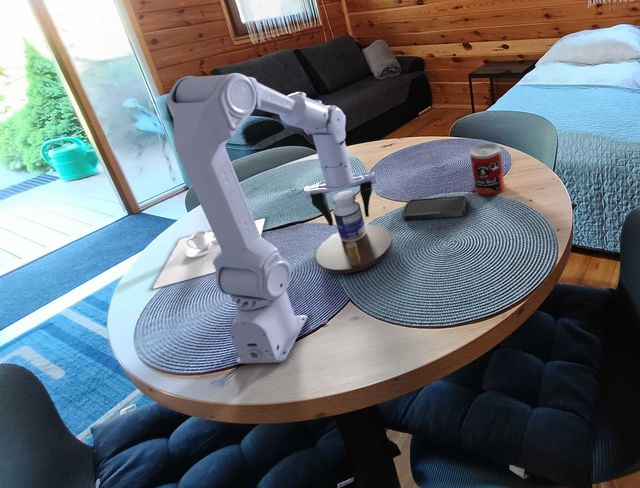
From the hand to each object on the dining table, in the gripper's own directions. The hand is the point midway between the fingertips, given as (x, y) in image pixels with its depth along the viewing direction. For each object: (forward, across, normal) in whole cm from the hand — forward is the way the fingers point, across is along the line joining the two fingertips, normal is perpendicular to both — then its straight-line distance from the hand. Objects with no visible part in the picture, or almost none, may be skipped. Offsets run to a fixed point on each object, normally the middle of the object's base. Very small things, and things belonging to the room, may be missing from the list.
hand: (349, 219), depth 93 cm
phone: (+6, -20, -6) cm, 21 cm away
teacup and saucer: (+7, +32, -13) cm, 35 cm away
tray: (+5, 0, +4) cm, 7 cm away
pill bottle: (+4, 0, 0) cm, 4 cm away
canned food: (+7, -35, -10) cm, 37 cm away
